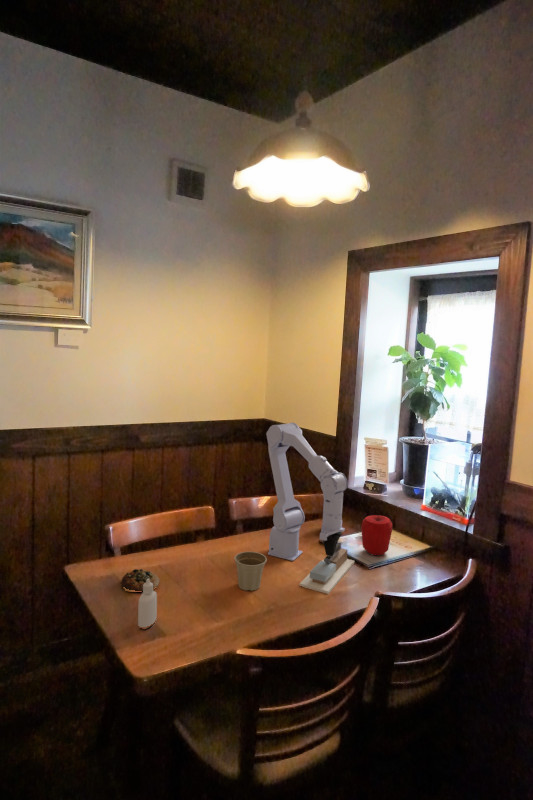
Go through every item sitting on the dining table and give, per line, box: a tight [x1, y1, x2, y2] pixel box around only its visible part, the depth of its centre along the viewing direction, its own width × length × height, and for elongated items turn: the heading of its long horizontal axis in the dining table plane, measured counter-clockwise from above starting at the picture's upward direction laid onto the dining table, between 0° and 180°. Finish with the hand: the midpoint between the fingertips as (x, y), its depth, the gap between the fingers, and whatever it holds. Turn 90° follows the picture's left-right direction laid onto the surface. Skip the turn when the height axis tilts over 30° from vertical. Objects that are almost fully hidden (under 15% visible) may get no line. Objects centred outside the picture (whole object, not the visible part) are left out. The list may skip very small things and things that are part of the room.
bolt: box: [324, 540, 342, 563], centre depth 166 cm, size 2×9×4 cm, turn 153°
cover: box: [309, 560, 336, 582], centre depth 160 cm, size 5×9×2 cm, turn 153°
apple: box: [361, 514, 393, 556], centre depth 181 cm, size 11×10×14 cm
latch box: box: [299, 547, 355, 595], centre depth 164 cm, size 9×24×4 cm, turn 153°
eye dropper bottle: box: [137, 579, 158, 627], centre depth 132 cm, size 4×6×12 cm
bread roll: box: [120, 568, 160, 591], centre depth 153 cm, size 11×11×5 cm
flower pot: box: [233, 551, 268, 592], centre depth 154 cm, size 9×9×9 cm
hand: (329, 554), depth 164 cm, fingers closed
